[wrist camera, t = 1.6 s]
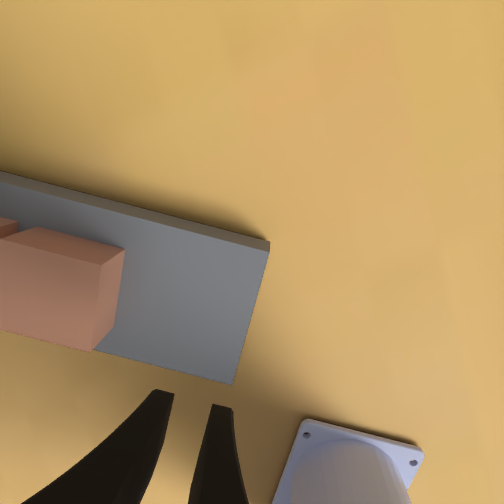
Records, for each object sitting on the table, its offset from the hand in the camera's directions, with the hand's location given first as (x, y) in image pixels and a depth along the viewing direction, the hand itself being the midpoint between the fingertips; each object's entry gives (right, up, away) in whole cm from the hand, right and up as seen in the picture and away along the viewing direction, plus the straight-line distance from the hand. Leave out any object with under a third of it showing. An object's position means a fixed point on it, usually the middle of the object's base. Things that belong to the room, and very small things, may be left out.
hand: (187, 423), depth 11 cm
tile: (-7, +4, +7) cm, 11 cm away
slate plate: (-7, +5, +9) cm, 12 cm away
